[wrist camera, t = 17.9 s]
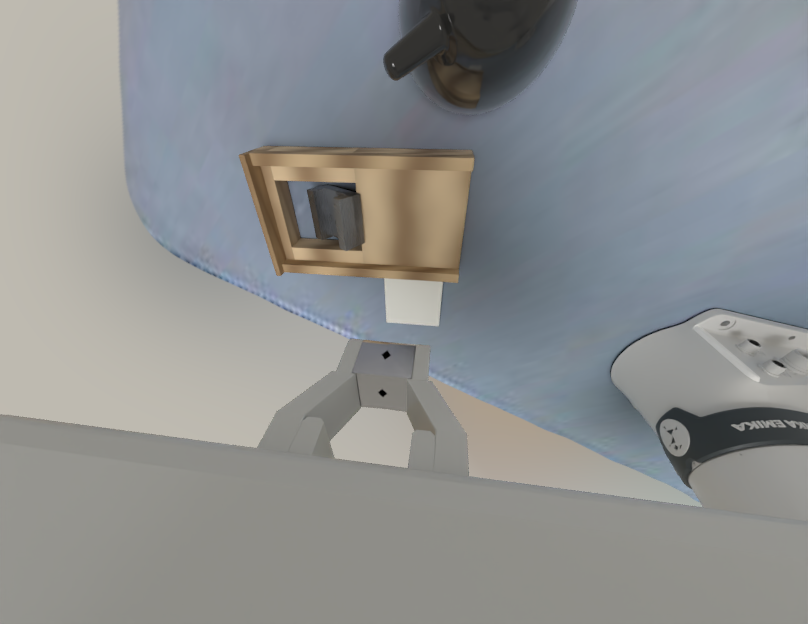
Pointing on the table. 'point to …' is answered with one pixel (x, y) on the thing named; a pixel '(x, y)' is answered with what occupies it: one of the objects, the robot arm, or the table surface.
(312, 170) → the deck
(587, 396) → the table surface
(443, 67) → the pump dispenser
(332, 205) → the clip
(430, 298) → the white square plate
